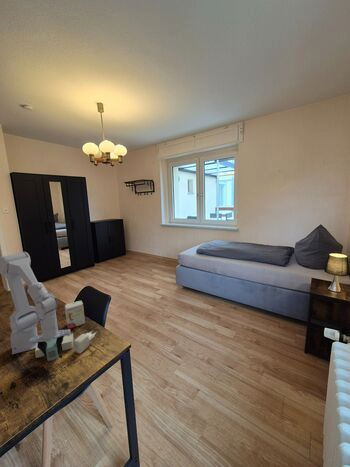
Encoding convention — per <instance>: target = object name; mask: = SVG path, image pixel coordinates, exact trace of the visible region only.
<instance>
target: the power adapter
mask: <svg viewBox="0 0 350 467" xmlns="http://www.w3.org/2000/svg"><path fill="white" fill-rule="evenodd" d="M93 332H94V330H91V331H89V332H86V333H81V334H80V335H78V336H77V338H74V341H73V350H74V353H77V354H79V355H80V354H82V353H83V352H84V351H85V350H87V349H88V348H89V346H90V341H92V340H93V339H94V338H95V335H96V334H98V331H95V332H94V333H93Z"/></svg>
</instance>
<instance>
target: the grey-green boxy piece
mask: <svg viewBox="0 0 350 467" xmlns="http://www.w3.org/2000/svg"><path fill="white" fill-rule="evenodd" d="M56 340H57V338H56V339H54V340H52V341H51V342H48V345H47V348H46V354H47V357H46V359H47V360H46V361H47V362H50V361H52V360H56V359H57V360H58V359H59V358H60V357H59V356H60V354H58V348H57V344H56Z"/></svg>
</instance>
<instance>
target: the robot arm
mask: <svg viewBox="0 0 350 467" xmlns="http://www.w3.org/2000/svg"><path fill="white" fill-rule="evenodd" d="M31 261H32V260H31V256H30V254H29V253H28V252H26V251H22V252H18V253H13V254H8V255H2V256H0V275H1V276H5V278H6V281H7V284H8V287H9V288H8V289H9V291H10V296H11V297H12V303H13V305H14V309H15V310H14V311H13V312H12V313H11V315H10V316H9V326H10V330H11V333H10V340H9V341H10V345H11V355H15V354H19V353H23V352H27V351H32V350H34V349H36V347H38V349H40V350H41V351H42V352H43V354H44V355H45V356H44V357H45V358H47V354H46V348H47V343H48V342H51V341H52V340H54V339H56V338H57V340H56V344H57V348H58V354H59V355H61V351H62V349H61V348H62V345H61V344H62V342H63V338H64V336H70V333H72V332H71V328H70V329H68V328H67V329H59V326H58V318H57V313H56V310H57V308H58V307H59V301H58V299H57V297H56V296H55V295H53V294H52V293H49V291H48V289H47V288H46V287H45V285H44V283H43V282H39V281H38V280H37V278H36V276H35V274H34V272H33V269H32V267H31ZM24 283H25V285H27V293H28V295H29V296H30V298H31V300H32V301H33V303H34V304H35V305H34V306H32V305H30V304H29V300H28V296H27V293H26V289H25V287H24V286H25V285H24ZM38 323H39V324H40V329H41V334H39V335H38V328H37V326H38ZM37 344H38V345H37Z"/></svg>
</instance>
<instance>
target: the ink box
mask: <svg viewBox="0 0 350 467" xmlns="http://www.w3.org/2000/svg"><path fill="white" fill-rule="evenodd" d="M84 309H85V308H84V303H83V301H82V300H78V301H74V302H70V303H67V304H65V305H64V310H65V312H64V313H65V320H66V326H67V330H68V329H70V330H71V329H73V328H75V327H79V326H82V325H85V323H86V320H85V319H86V318H85V310H84Z"/></svg>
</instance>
